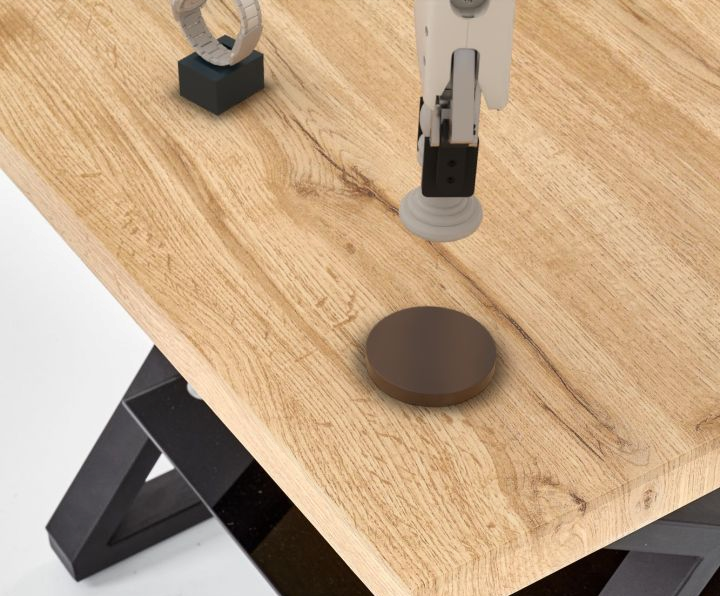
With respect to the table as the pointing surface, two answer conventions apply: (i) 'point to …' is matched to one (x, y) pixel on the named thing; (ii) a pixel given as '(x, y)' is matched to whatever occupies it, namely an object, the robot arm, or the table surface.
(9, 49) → the table surface
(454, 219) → the chess piece
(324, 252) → the table surface
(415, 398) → the walnut chip
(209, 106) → the watch
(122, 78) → the table surface
